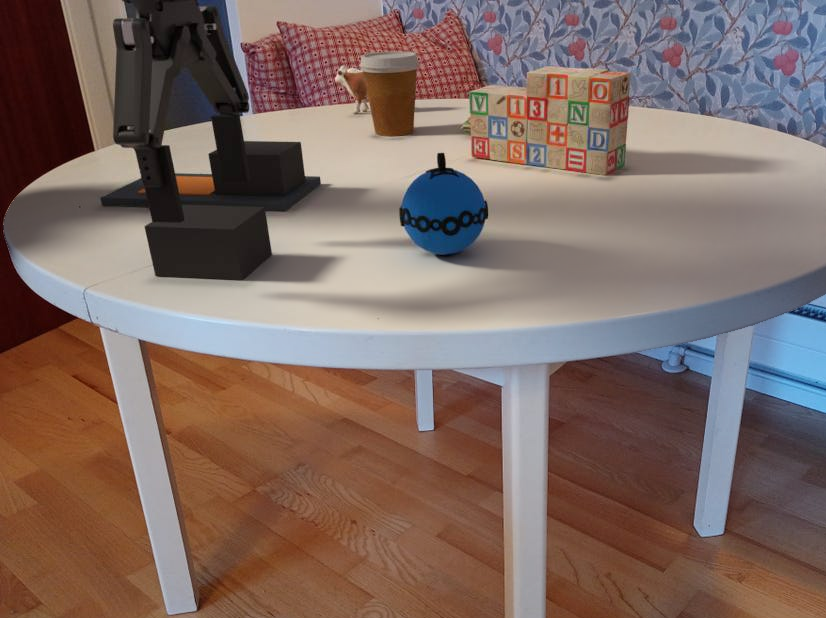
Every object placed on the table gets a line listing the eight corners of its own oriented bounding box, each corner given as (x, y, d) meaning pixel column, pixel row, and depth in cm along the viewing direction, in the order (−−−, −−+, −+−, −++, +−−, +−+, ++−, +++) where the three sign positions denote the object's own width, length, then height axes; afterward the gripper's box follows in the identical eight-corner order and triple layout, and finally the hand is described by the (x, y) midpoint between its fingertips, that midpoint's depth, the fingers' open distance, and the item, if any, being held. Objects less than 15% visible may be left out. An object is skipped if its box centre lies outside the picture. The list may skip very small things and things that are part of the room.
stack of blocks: (470, 158, 117) (467, 68, 112) (492, 149, 122) (491, 62, 116) (607, 175, 107) (612, 77, 101) (626, 165, 112) (631, 70, 106)
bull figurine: (339, 110, 154) (335, 64, 150) (410, 109, 152) (407, 63, 149) (333, 114, 150) (328, 67, 146) (406, 113, 149) (402, 66, 145)
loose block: (155, 276, 79) (144, 226, 76) (190, 251, 85) (181, 204, 82) (242, 280, 77) (233, 229, 75) (272, 254, 83) (265, 206, 81)
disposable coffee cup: (354, 136, 133) (347, 58, 127) (382, 124, 140) (377, 50, 135) (407, 140, 129) (401, 59, 124) (433, 127, 137) (429, 51, 132)
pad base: (101, 205, 101) (89, 156, 98) (153, 179, 111) (143, 135, 108) (285, 211, 97) (278, 160, 94) (321, 184, 107) (315, 137, 104)
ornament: (497, 263, 79) (495, 159, 75) (409, 271, 78) (401, 167, 73) (478, 235, 87) (475, 140, 82) (398, 243, 85) (390, 146, 81)
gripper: (112, -51, 57) (175, 243, 66) (261, -55, 78) (292, 167, 88) (16, -47, 58) (91, 240, 68) (188, -52, 80) (227, 166, 89)
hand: (205, 199), depth 78 cm, fingers open, 13 cm apart
